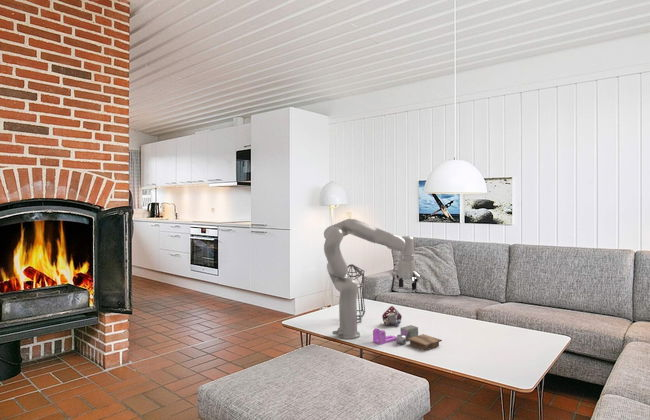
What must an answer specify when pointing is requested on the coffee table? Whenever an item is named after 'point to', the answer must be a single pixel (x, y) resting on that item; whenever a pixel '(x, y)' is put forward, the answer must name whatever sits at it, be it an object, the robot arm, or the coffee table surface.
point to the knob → (401, 339)
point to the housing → (409, 331)
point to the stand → (424, 341)
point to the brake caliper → (391, 317)
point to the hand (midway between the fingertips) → (407, 288)
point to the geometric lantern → (358, 287)
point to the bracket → (382, 337)
